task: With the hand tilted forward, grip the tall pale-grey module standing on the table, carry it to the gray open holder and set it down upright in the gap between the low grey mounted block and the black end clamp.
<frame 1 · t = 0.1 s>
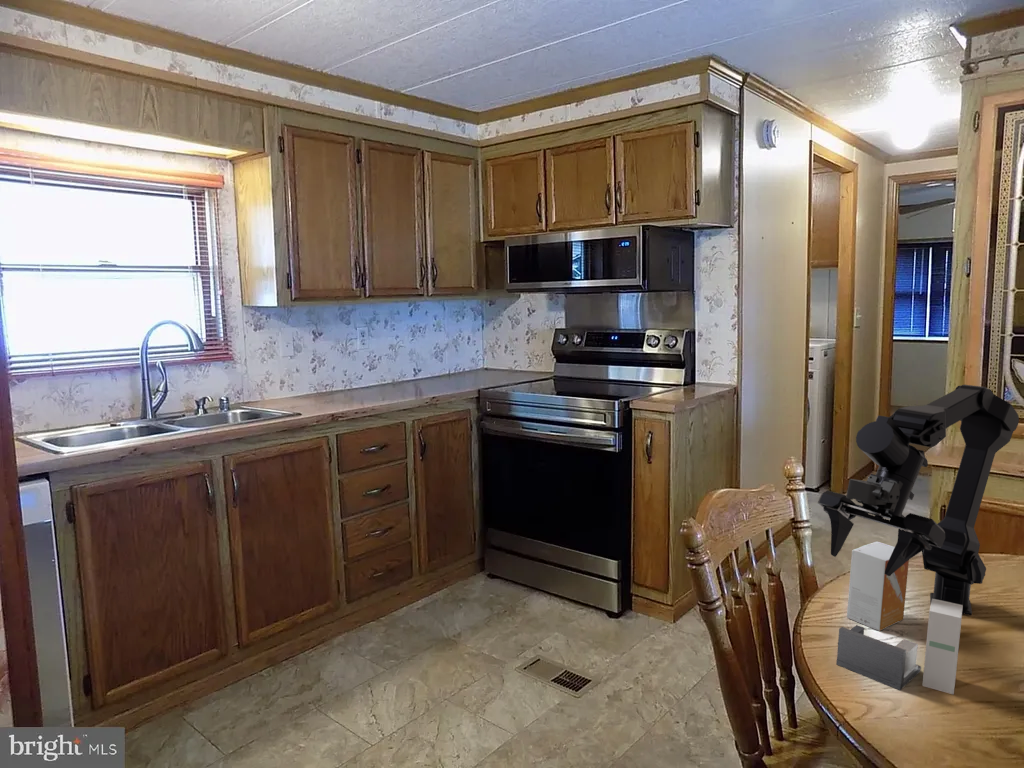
hand: (859, 565, 114), 15 cm above the table, tool tilted 35°, fingers open, 9 cm apart
module: (939, 682, 107), on the table
gray open holder: (876, 667, 111), on the table
small box: (875, 620, 127), on the table
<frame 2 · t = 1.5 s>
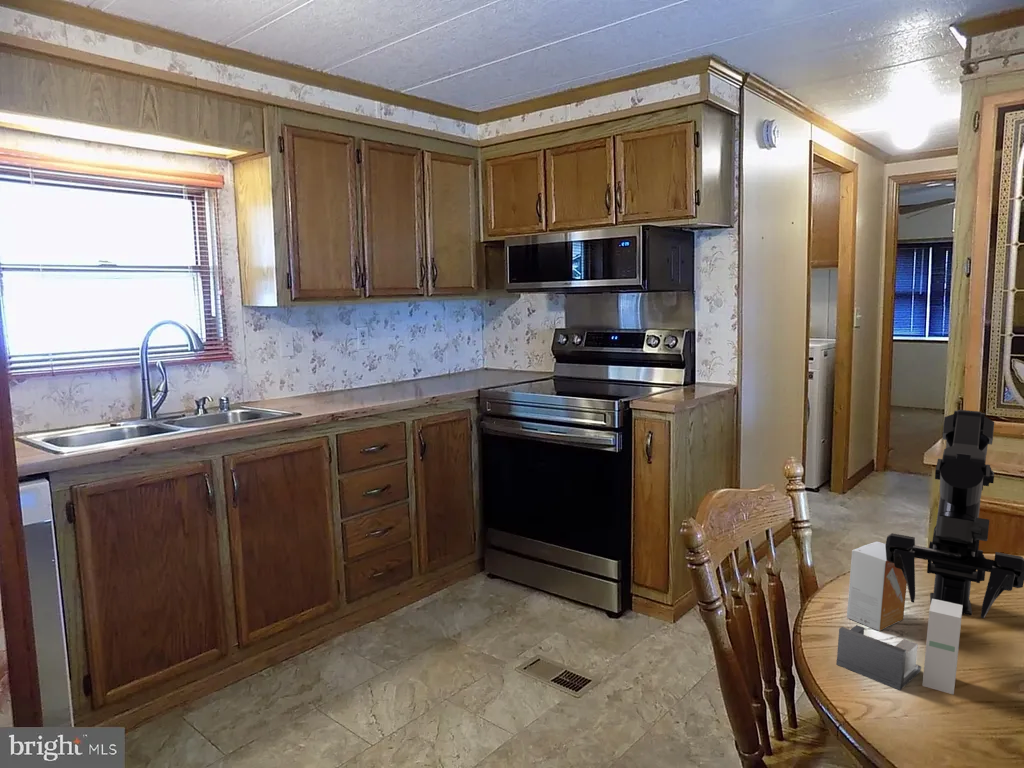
hand: (946, 609, 109), 10 cm above the table, tool tilted 45°, fingers open, 9 cm apart
nothing on the table moved.
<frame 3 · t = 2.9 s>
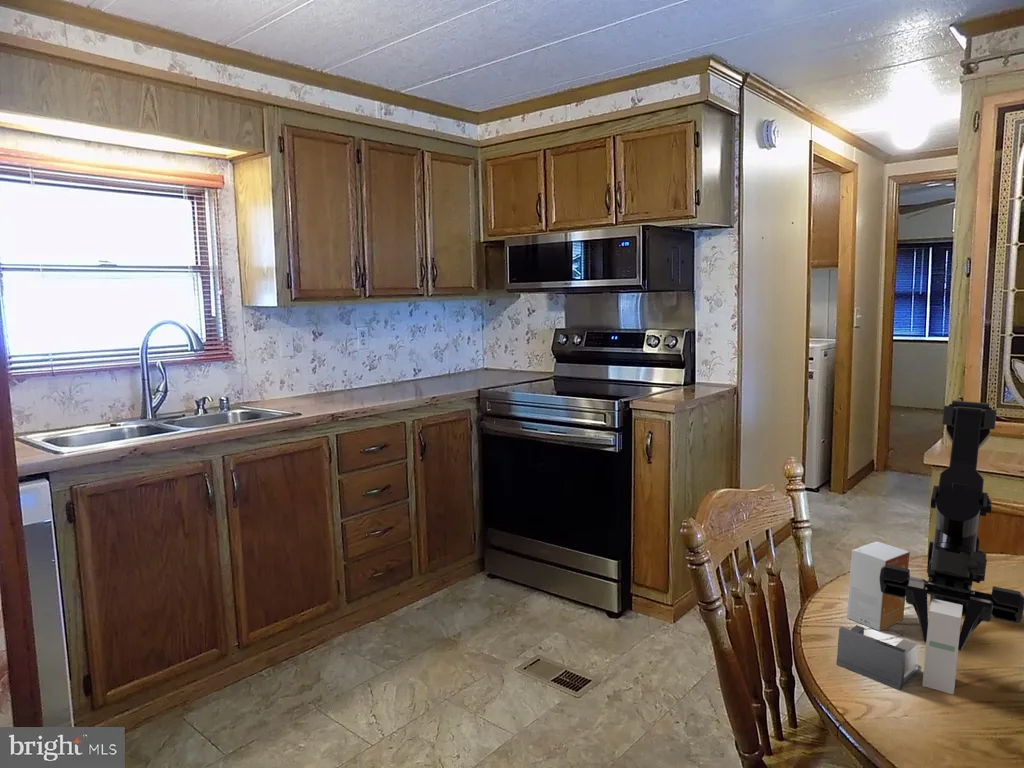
hand: (942, 645, 105), 7 cm above the table, tool tilted 45°, fingers closed on module, 4 cm apart
module: (939, 682, 107), on the table, touching gripper
everything else where it was.
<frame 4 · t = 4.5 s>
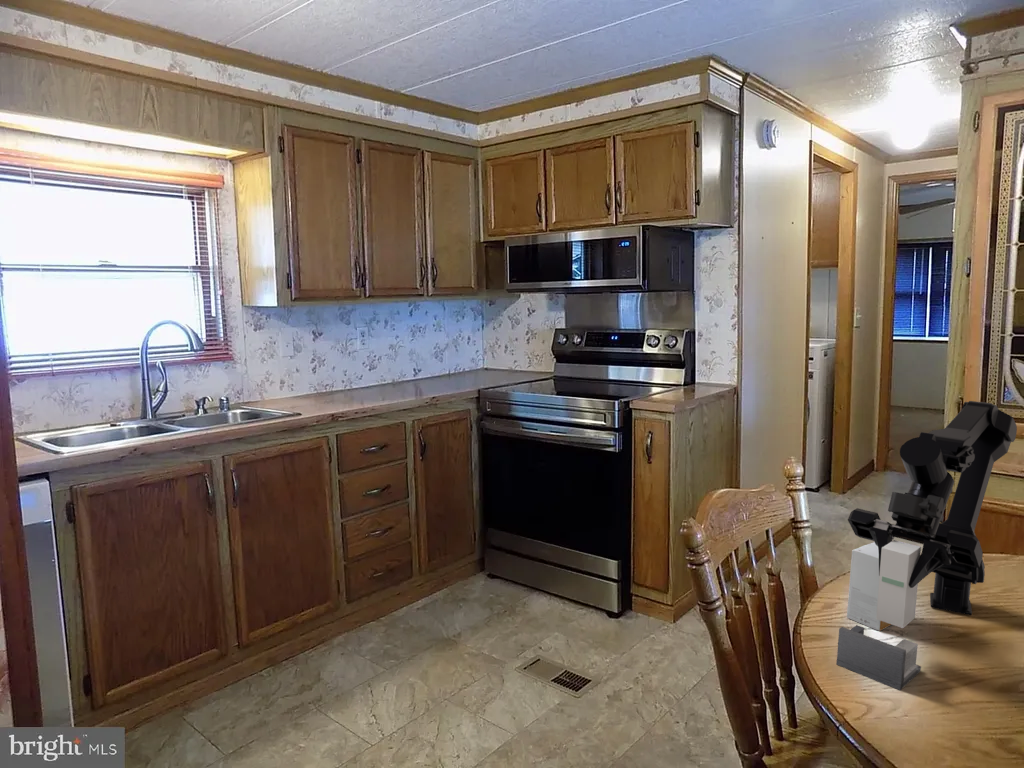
hand: (895, 582, 111), 13 cm above the table, tool tilted 45°, fingers closed on module, 4 cm apart
module: (895, 618, 113), point 7 cm above the table, touching gripper
everything else where it was.
when the fingers open (9 cm above the table, at t = 6.1 s): module stays where it is, resting on gray open holder.
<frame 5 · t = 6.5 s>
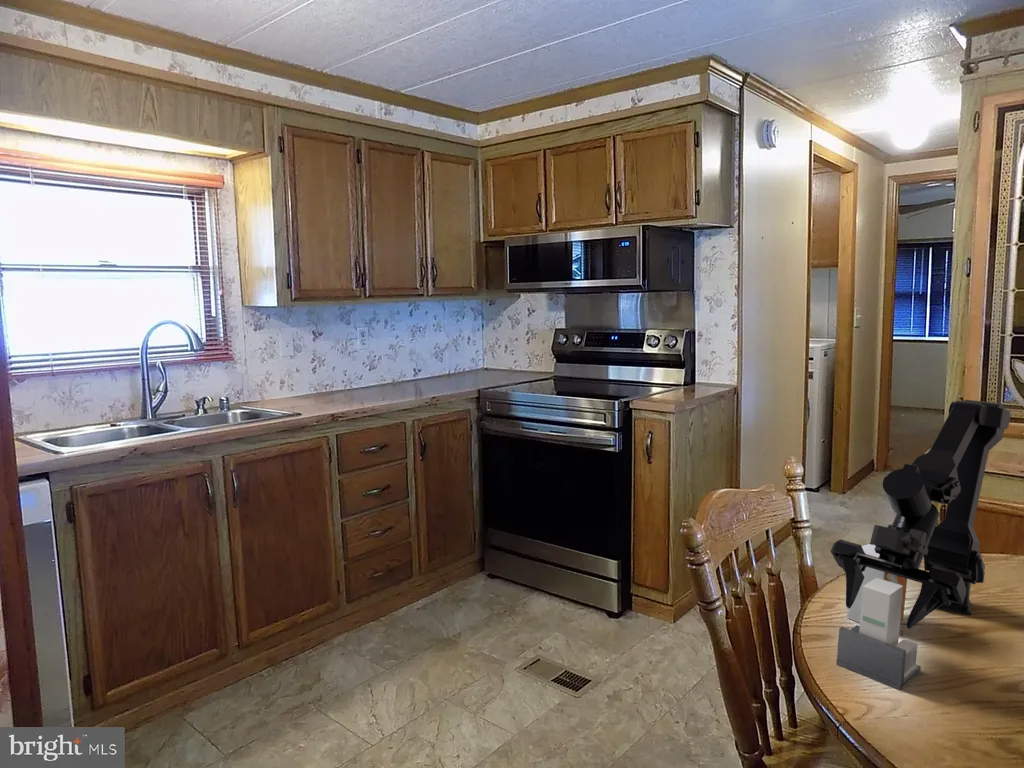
hand: (876, 617, 109), 9 cm above the table, tool tilted 45°, fingers open, 9 cm apart
module: (877, 658, 111), point 1 cm above the table, touching gray open holder
everything else where it was.
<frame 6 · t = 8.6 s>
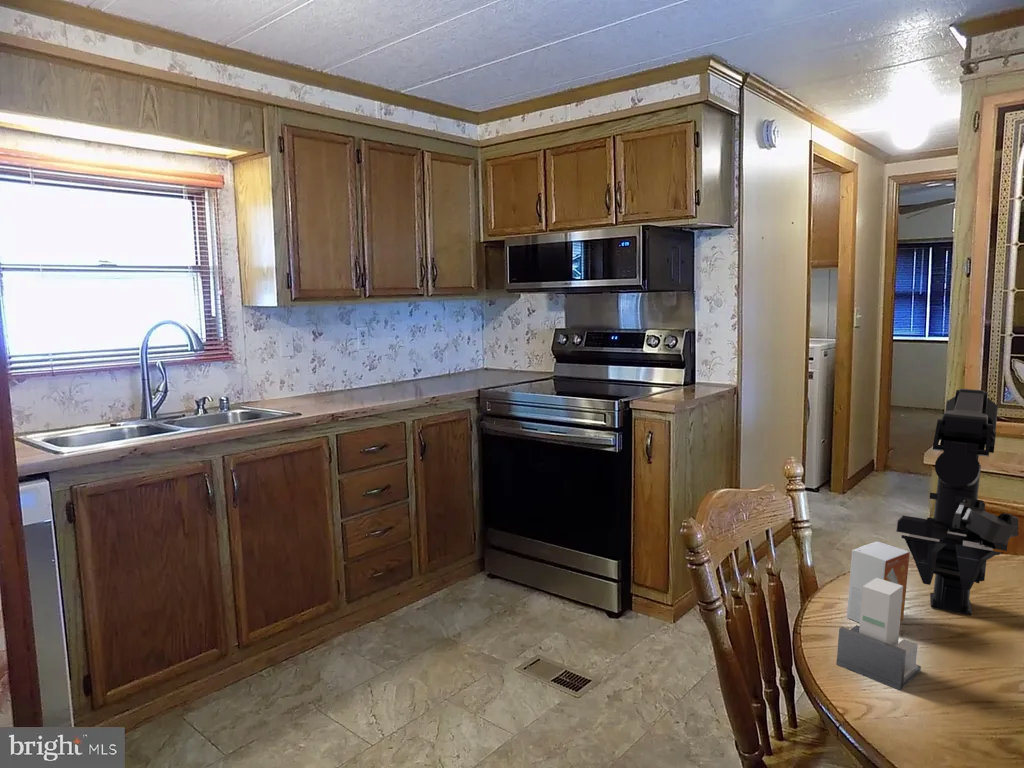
hand: (946, 587, 114), 12 cm above the table, tool tilted 15°, fingers open, 9 cm apart
nothing on the table moved.
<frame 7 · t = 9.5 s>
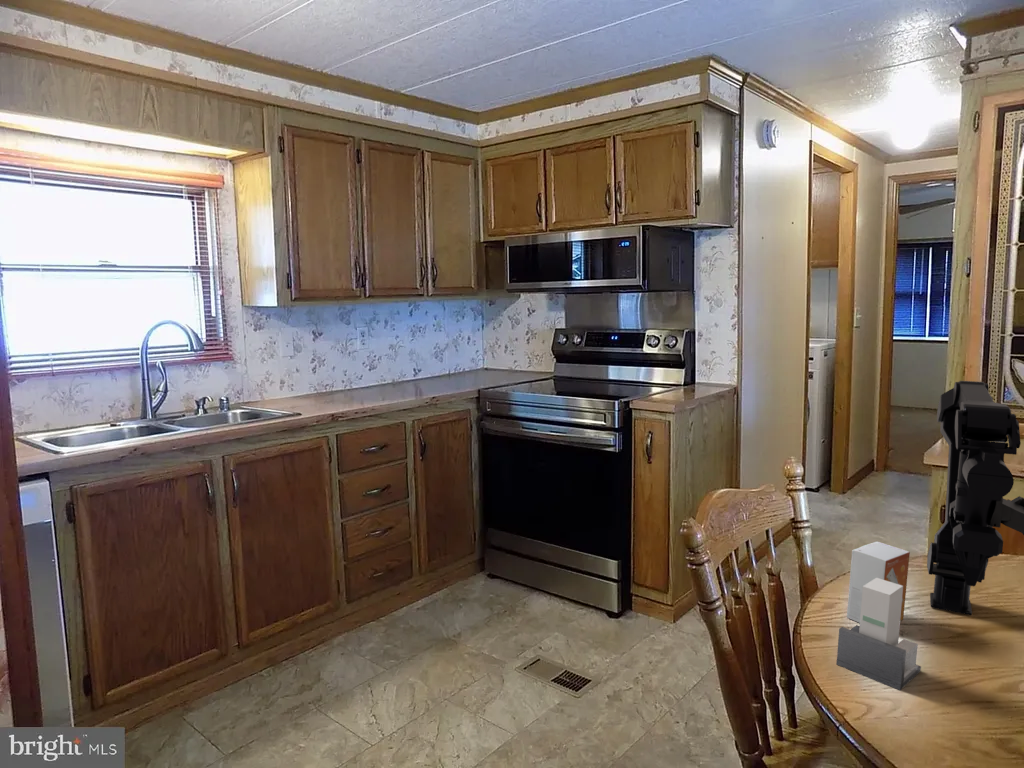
hand: (969, 575, 115), 13 cm above the table, tool pointing down, fingers open, 9 cm apart
nothing on the table moved.
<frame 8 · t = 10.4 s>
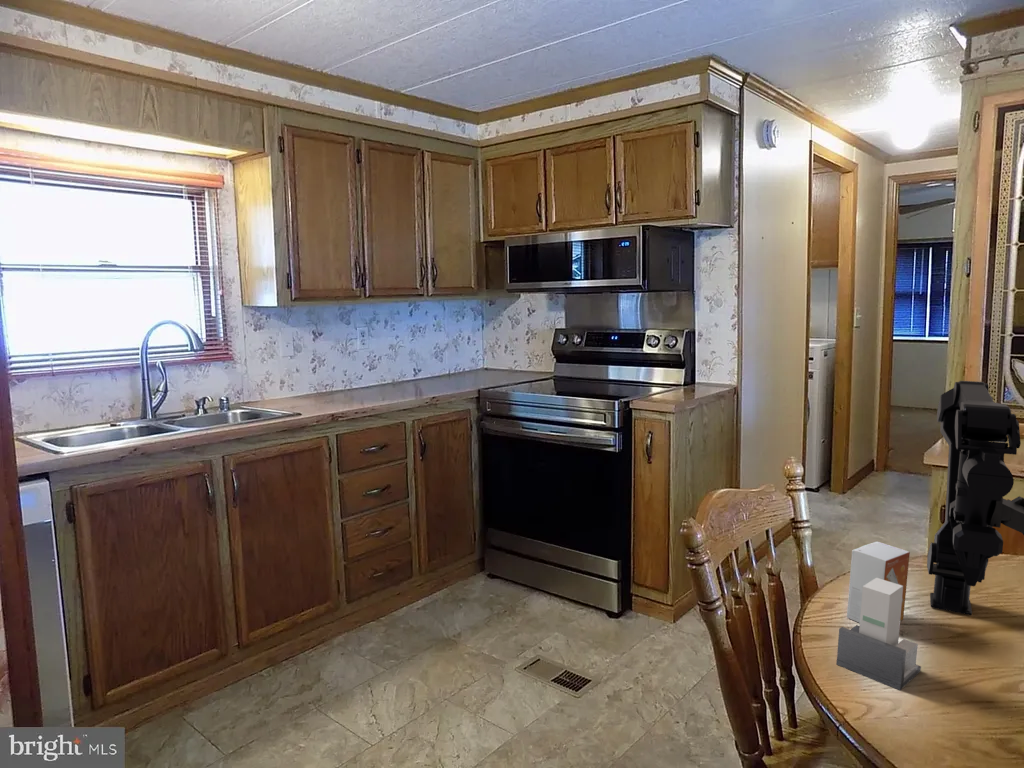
hand: (969, 575, 115), 13 cm above the table, tool pointing down, fingers open, 9 cm apart
nothing on the table moved.
at the end: module 0.0 cm off-centre on the gray open holder, point 1.5 cm above the gray open holder's base; module tilted 0°; the gripper is holding nothing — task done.
